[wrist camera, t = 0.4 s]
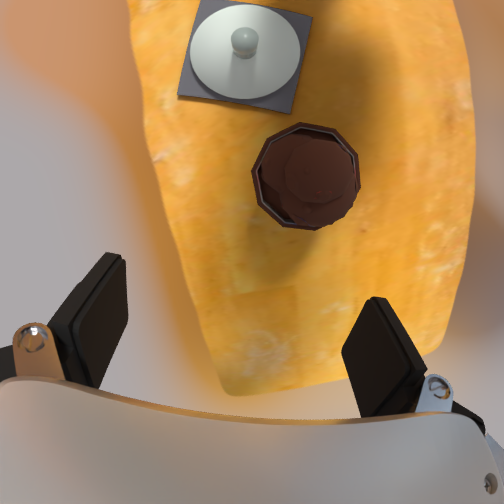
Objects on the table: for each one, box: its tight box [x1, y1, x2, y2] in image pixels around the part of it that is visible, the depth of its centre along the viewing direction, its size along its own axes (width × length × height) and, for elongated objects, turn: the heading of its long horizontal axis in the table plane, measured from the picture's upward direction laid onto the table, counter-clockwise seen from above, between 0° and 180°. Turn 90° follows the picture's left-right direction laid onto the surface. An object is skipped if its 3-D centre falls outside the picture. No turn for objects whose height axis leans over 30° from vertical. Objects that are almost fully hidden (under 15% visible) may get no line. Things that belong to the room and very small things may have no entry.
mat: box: [177, 0, 313, 114], centre depth 28 cm, size 14×14×1 cm
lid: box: [190, 5, 300, 99], centre depth 25 cm, size 13×13×6 cm
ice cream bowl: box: [251, 122, 361, 231], centre depth 28 cm, size 11×11×15 cm
